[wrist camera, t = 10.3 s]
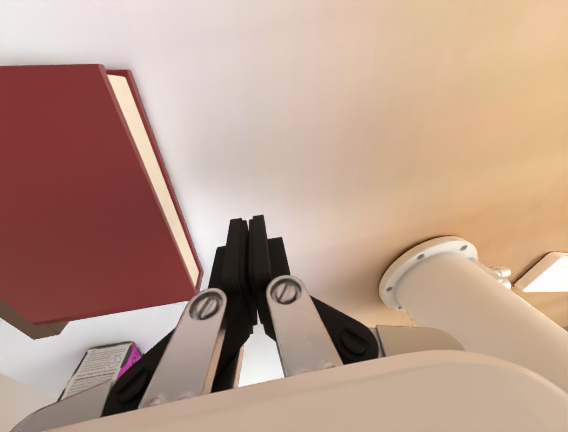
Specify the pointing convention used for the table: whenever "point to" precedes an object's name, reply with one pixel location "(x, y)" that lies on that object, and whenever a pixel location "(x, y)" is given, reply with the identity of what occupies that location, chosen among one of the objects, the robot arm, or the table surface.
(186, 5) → the table surface
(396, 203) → the table surface
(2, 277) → the book
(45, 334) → the rail
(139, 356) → the candy bar box
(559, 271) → the phone case
